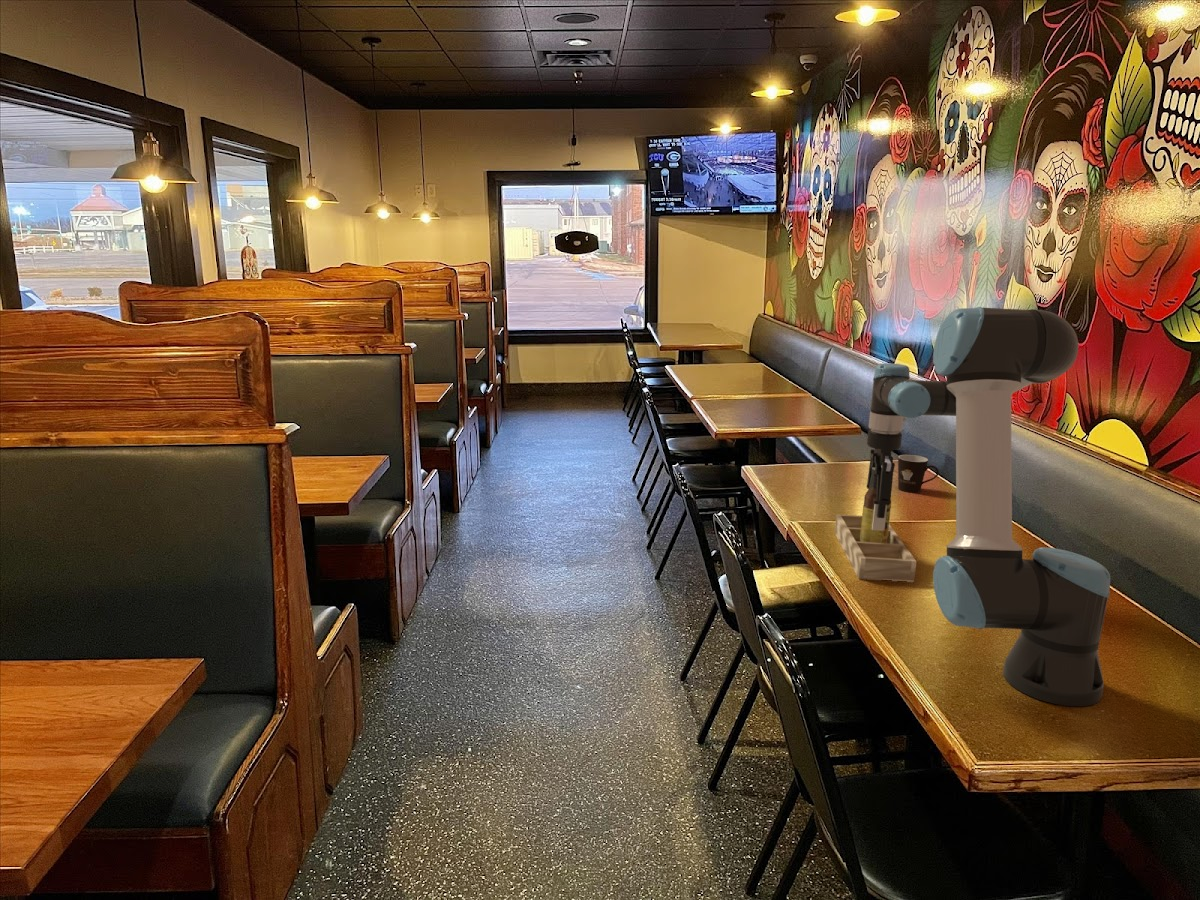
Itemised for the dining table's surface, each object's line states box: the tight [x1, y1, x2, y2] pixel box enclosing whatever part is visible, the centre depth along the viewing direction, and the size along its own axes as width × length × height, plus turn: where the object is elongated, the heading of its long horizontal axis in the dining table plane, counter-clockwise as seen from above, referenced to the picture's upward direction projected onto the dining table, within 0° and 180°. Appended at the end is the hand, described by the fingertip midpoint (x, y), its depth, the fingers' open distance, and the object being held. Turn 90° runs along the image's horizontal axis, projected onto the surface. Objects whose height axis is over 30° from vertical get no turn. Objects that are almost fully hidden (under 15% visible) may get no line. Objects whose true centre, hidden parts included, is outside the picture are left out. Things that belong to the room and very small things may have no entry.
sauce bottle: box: [860, 467, 892, 543], centre depth 199 cm, size 6×6×20 cm
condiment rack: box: [834, 514, 917, 583], centre depth 201 cm, size 31×12×5 cm, turn 175°
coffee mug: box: [897, 454, 940, 494], centre depth 256 cm, size 12×9×10 cm
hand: (874, 525), depth 200 cm, fingers closed on sauce bottle, 6 cm apart
